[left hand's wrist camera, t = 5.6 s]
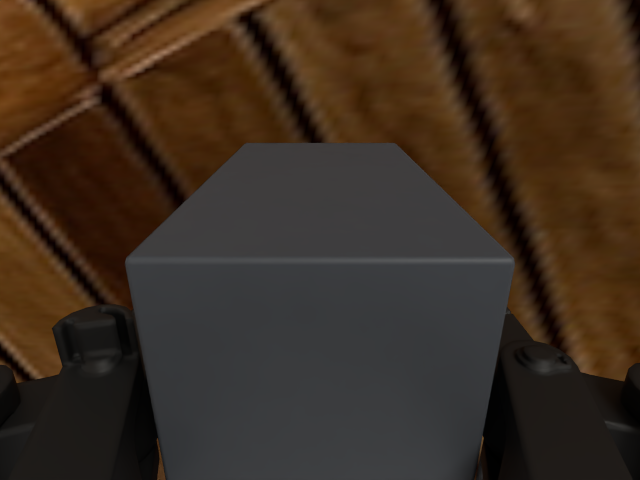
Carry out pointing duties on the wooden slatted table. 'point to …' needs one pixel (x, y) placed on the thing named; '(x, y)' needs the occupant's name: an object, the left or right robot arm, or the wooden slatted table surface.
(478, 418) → the bar
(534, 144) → the wooden slatted table surface
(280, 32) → the wooden slatted table surface
